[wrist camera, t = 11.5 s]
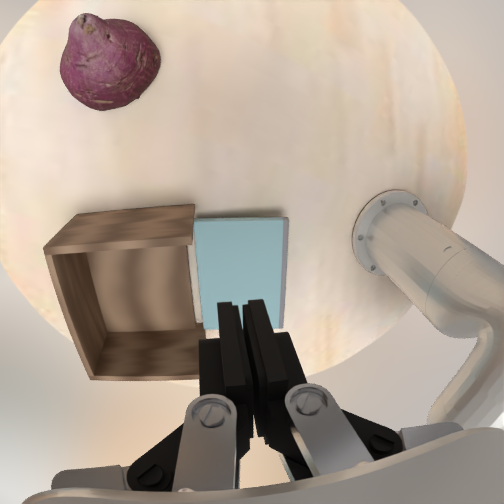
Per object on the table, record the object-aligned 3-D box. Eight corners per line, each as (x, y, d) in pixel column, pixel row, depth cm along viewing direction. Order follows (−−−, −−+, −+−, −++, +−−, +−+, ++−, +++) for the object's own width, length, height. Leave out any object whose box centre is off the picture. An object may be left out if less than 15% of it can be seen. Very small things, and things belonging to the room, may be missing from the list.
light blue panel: (194, 218, 36) (287, 217, 37) (204, 324, 43) (282, 323, 43) (193, 221, 35) (288, 220, 36) (203, 329, 42) (283, 328, 42)
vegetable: (105, 29, 29) (64, -40, 14) (177, 49, 30) (162, -30, 16) (63, 102, 29) (-6, 58, 15) (134, 127, 31) (85, 80, 17)
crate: (194, 204, 37) (191, 236, 28) (205, 327, 44) (207, 378, 36) (76, 214, 35) (42, 247, 26) (105, 331, 43) (90, 379, 34)
